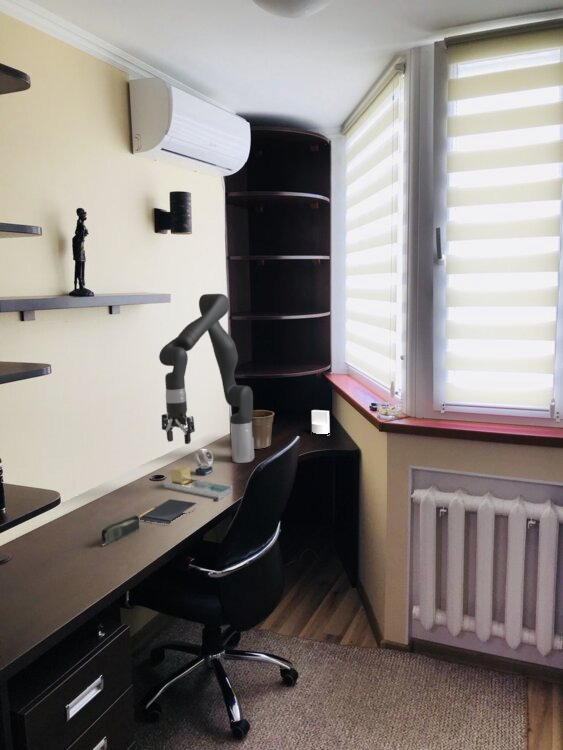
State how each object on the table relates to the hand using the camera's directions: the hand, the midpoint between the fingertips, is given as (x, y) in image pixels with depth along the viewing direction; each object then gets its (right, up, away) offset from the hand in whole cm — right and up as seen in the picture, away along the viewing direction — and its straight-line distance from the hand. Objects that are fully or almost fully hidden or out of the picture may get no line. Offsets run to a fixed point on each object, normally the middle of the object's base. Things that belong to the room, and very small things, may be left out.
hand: (178, 442), depth 218 cm
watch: (+7, -16, +17) cm, 24 cm away
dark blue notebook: (0, -22, -20) cm, 30 cm away
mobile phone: (-11, -25, -39) cm, 48 cm away
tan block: (+1, -17, +3) cm, 17 cm away
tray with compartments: (+7, -18, -1) cm, 20 cm away
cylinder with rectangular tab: (+59, -5, +76) cm, 96 cm away
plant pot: (+28, -9, +57) cm, 64 cm away
